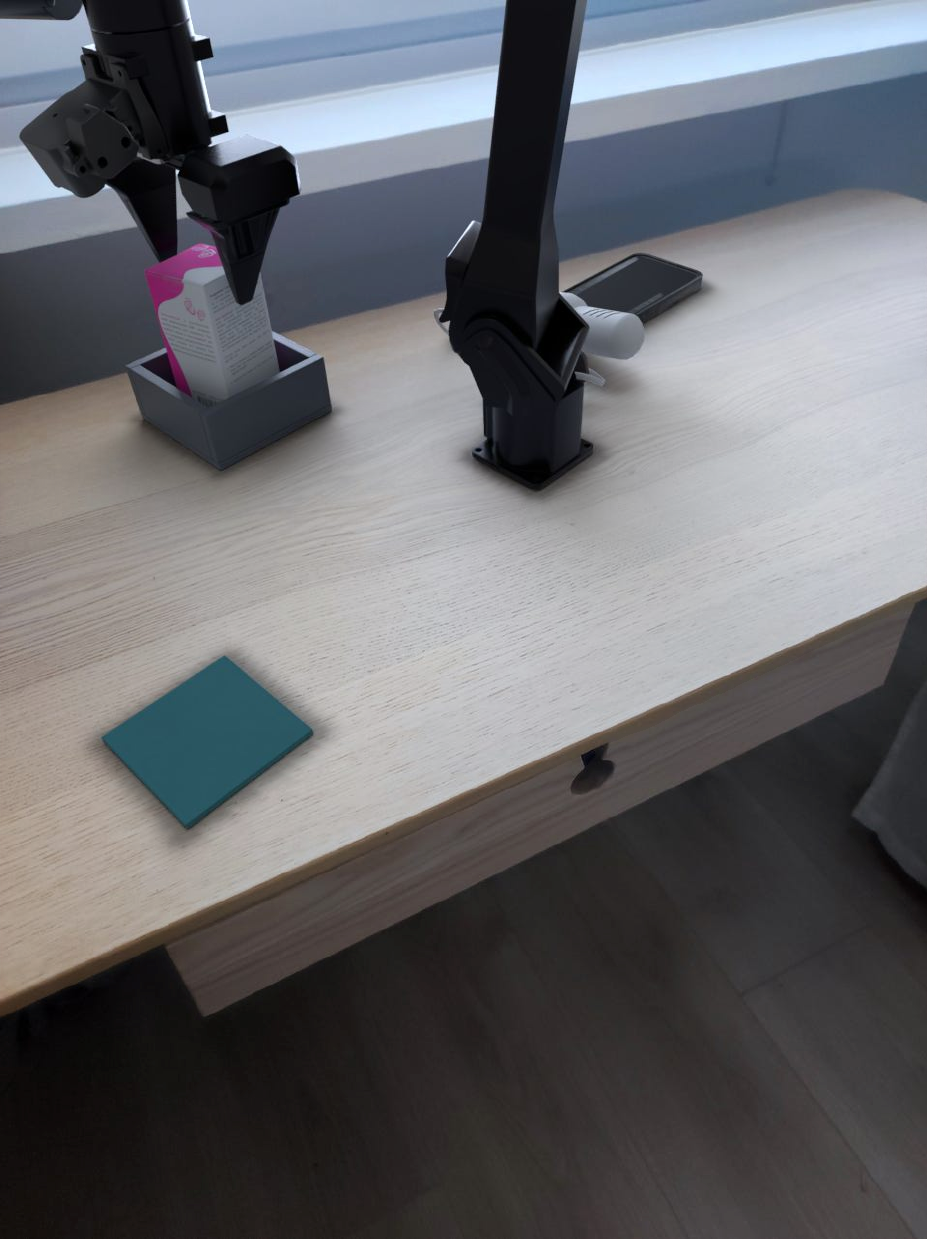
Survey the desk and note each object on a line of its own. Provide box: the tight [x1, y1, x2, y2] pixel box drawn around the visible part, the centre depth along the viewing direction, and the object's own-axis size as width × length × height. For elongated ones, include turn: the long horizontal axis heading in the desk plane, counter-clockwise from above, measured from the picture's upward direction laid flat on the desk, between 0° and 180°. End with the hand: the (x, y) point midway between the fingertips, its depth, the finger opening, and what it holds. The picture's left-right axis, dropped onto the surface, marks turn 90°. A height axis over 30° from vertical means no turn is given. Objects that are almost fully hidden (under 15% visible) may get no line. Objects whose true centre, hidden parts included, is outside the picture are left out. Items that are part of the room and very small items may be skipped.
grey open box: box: [124, 330, 333, 471], centre depth 69 cm, size 11×11×5 cm
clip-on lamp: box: [433, 291, 646, 387], centre depth 72 cm, size 12×6×18 cm
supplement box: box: [143, 243, 280, 408], centre depth 66 cm, size 6×6×12 cm
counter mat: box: [101, 654, 314, 830], centre depth 48 cm, size 8×8×1 cm
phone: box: [561, 252, 704, 324], centre depth 81 cm, size 8×1×15 cm
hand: (205, 283), depth 63 cm, fingers open, 9 cm apart
